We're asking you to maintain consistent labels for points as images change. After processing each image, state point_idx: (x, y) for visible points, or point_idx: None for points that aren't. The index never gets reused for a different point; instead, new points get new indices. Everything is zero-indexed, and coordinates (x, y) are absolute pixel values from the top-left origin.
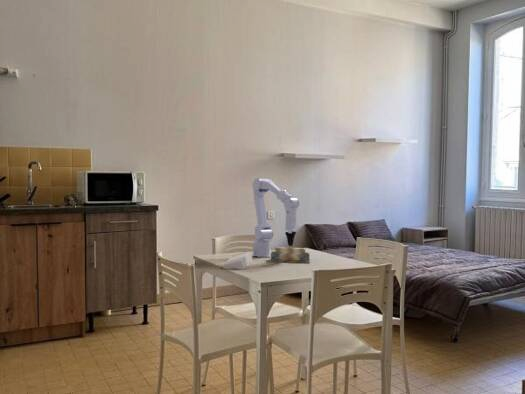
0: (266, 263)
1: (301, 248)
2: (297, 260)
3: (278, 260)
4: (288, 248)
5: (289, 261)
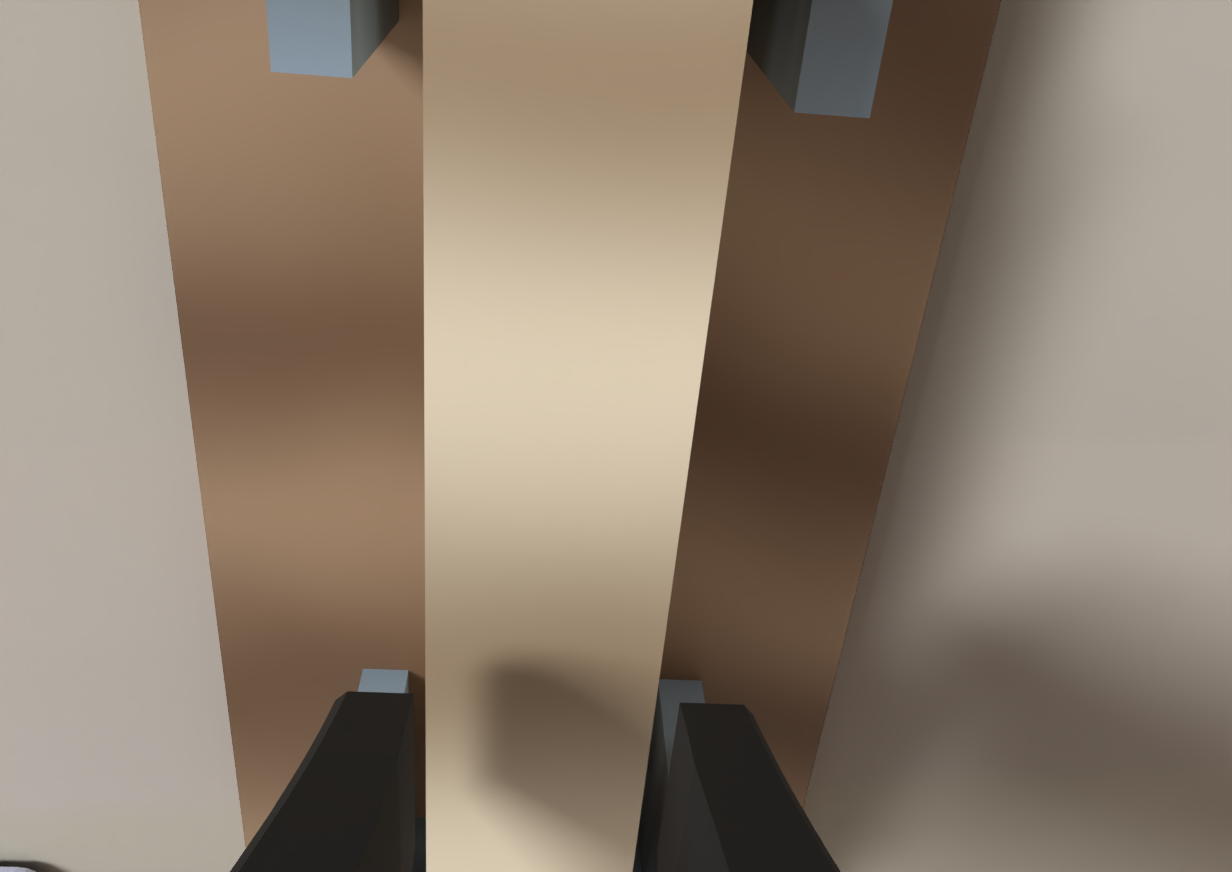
0: (1012, 863)
1: (608, 115)
2: (819, 163)
3: (826, 694)
4: (647, 735)
5: (890, 415)
